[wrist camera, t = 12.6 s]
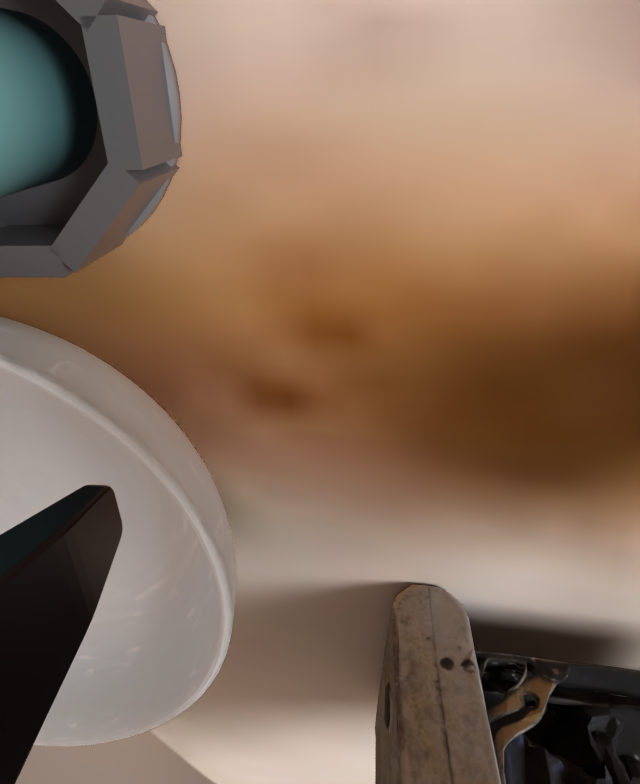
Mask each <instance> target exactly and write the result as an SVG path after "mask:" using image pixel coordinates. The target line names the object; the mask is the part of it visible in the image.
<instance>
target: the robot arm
mask: <svg viewBox="0 0 640 784" xmlns="http://www.w3.org/2000/svg"><path fill="white" fill-rule="evenodd" d="M122 529H123V527H122V520H121V516H120V512H119V508H118V504H117V500H116V497H115V493H114V490H113V489H112V488H111V487H110V486H108V485H85V486H83V487H81V488H79V489H78V490H76V491H74V492H73V493H71V494H69V495H67V496H66V497H64V498H62V499H61V500H59V501H57V502H55V503H54V504H52V505H50V506H49V507H47V508H45V509H43V510H42V511H40V512H38V513H37V514H35V515H33V516H31V517H30V518H28V519H26V520H25V521H23V522H21V523H19V524H18V525H16V526H14V527H13V528H11V529H9V530H7V531H6V532H4V533H2V534H1V535H0V784H15V783H16V780H17V778H18V776H19V774H20V772H21V770H22V768H23V766H24V764H25V761H26V759H27V757H28V755H29V753H30V751H31V749H32V747H33V745H34V742H35V740H36V738H37V736H38V734H39V732H40V730H41V728H42V726H43V723H44V721H45V719H46V717H47V715H48V713H49V711H50V709H51V706H52V704H53V702H54V700H55V698H56V696H57V694H58V692H59V690H60V687H61V685H62V683H63V681H64V679H65V677H66V675H67V673H68V671H69V668H70V666H71V664H72V662H73V660H74V658H75V656H76V654H77V652H78V649H79V647H80V645H81V643H82V641H83V639H84V637H85V635H86V632H87V630H88V628H89V626H90V623H91V621H92V619H93V616H94V613H95V611H96V608H97V605H98V603H99V600H100V597H101V594H102V591H103V588H104V585H105V583H106V580H107V577H108V574H109V571H110V568H111V565H112V562H113V560H114V557H115V554H116V551H117V548H118V545H119V542H120V539H121V536H122Z"/></svg>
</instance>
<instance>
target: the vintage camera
mask: <svg viewBox="0 0 640 784" xmlns="http://www.w3.org/2000/svg"><path fill="white" fill-rule="evenodd" d="M375 734H376V784H640V671H637V670H631V669H624V668H617V667H610V666H601V665H591V664H581V663H571V662H561V661H554V660H547V659H540V658H533V657H526V656H520V655H513V654H504V653H492V652H480V651H475V650H474V644H473V639H472V633H471V628H470V622H469V618H468V616H467V614H466V611H465V609H464V607H463V605H462V604H461V603H460V602H459V601H458V600H456V599H455V598H454V597H453V596H452V595H451V594H450V593H448V592H447V591H446V590H444V589H442V588H438V587H434V586H426V585H410V586H409V587H408V588H406V589H405V590H403V591H402V592H401V593H399V594H398V595H397V596H396V598H395V601H394V603H393V606H392V609H391V613H390V620H389V628H388V634H387V641H386V647H385V654H384V661H383V668H382V675H381V682H380V690H379V697H378V705H377V714H376V723H375Z"/></svg>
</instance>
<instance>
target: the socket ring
mask: <svg viewBox="0 0 640 784" xmlns="http://www.w3.org/2000/svg"><path fill="white" fill-rule="evenodd" d="M0 8H5V9H10V10H15V11H20V12H23V13H26V14H29V15H31V16H33V17H35V18H37V19H39V20H41V21H43V22H44V23H46V24H47V25H49V26H50V27H51V28H53V29H54V30H55V31H56V32H57V33H58V34H60V35H61V36H62V37H63V39H64V40H65V41H66V42H67V43H68V44H69V45H70V46H71V48H72V49H73V50H74V52H75V53H76V54H77V56H78V58H79V59H80V61H81V62H82V64H83V66H84V68H85V70H86V72H87V74H88V76H89V79H90V82H91V85H92V87H93V91H94V95H95V99H96V107H97V130H96V136H95V140H94V143H93V146H92V149H91V151H90V153H89V155H88V157H87V158H86V160H85V161H84V162H83V164H82V165H81V166H80V167H79V168H78V169H77V170H76V171H75V172H73V173H72V174H70V175H68V176H67V177H64V178H62V179H60V180H57V181H53V182H50V183H46V184H43V185H40V186H36V187H33V188H30V189H26V190H23V191H20V192H16V193H13V194H10V195H6V196H3V197H0V277H67V276H68V275H70V274H72V273H73V272H75V273H76V272H77V271H79V270H80V269H82V268H84V267H85V266H87V265H89V264H90V263H92V262H94V261H95V260H97V259H99V258H100V257H102V256H104V255H105V254H107V253H108V252H110V251H112V250H113V249H115V248H117V247H118V246H120V245H121V244H122V243H123V242H124V240H125V239H126V238H127V236H129V235H130V234H132V233H133V232H134V231H135V230H136V229H138V228H139V227H140V226H141V225H142V224H143V223H144V222H145V221H146V220H147V219H148V218H149V217H150V215H151V214H152V213H153V212H154V211H155V209H156V208H157V206H158V204H159V203H160V201H161V200H162V198H163V197H164V195H165V192H166V190H167V188H168V186H169V184H170V182H171V179H172V177H173V176H174V174H175V173H176V172H177V170H178V169H179V167H178V166H177V165H176V163H177V158H178V157H181V156H182V152H181V144H180V140H181V118H182V117H181V104H180V93H179V87H178V82H177V77H176V71H175V67H174V64H173V61H172V57H171V54H170V51H169V47H168V45H167V40H166V33H165V26H161V25H159V23H158V21H157V19H156V17H155V15H156V14H157V11H156V10H155V9H154V8H153V7H152V6H151V5H150V4H149V3H148V1H147V0H0Z"/></svg>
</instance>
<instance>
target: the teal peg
mask: <svg viewBox="0 0 640 784" xmlns="http://www.w3.org/2000/svg"><path fill="white" fill-rule="evenodd" d="M96 130H97V107H96V99H95V95H94V91H93V87H92V85H91V82H90V79H89V76H88V74H87V72H86V70H85V68H84V66H83V64H82V62H81V61H80V59H79V58H78V56H77V54H76V53H75V52H74V50H73V49H72V48H71V46H70V45H69V44H68V43H67V42H66V41H65V40H64V39H63V37H62V36H61V35H60V34H58V33H57V32H56V31H55V30H54V29H53V28H51V27H50V26H49V25H47V24H46V23H44V22H43V21H41V20H39V19H37V18H35V17H33V16H31V15H29V14H26V13H23V12H20V11H15V10H10V9H5V8H0V197H3V196H6V195H10V194H13V193H16V192H20V191H23V190H26V189H30V188H33V187H36V186H40V185H43V184H46V183H50V182H53V181H57V180H60V179H62V178H64V177H67V176H68V175H70V174H72V173H73V172H75V171H76V170H77V169H78V168H79V167H80V166H81V165H82V164H83V162H84V161H85V160H86V158H87V157H88V155H89V153H90V151H91V149H92V146H93V143H94V140H95V136H96Z"/></svg>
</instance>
